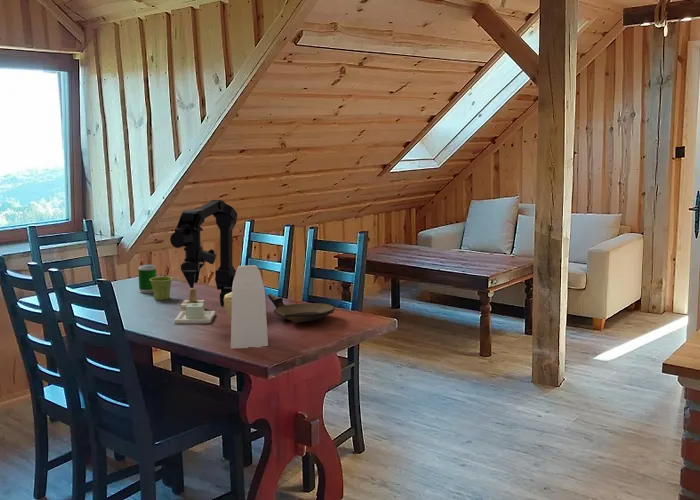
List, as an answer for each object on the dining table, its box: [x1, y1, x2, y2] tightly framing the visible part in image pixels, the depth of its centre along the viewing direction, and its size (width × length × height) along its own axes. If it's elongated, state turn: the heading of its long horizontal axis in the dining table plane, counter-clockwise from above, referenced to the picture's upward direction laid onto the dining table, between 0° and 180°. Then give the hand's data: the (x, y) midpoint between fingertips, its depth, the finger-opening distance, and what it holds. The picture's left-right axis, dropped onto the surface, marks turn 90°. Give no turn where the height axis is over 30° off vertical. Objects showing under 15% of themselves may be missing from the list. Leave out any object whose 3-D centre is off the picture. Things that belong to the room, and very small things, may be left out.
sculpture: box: [223, 292, 232, 318], centre depth 263 cm, size 12×12×11 cm
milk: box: [230, 264, 269, 350], centre depth 228 cm, size 12×12×26 cm
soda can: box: [138, 263, 157, 294], centre depth 307 cm, size 8×8×12 cm
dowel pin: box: [188, 287, 197, 303], centre depth 272 cm, size 3×3×9 cm
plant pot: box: [150, 276, 173, 301], centre depth 294 cm, size 9×9×9 cm
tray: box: [173, 310, 216, 325], centre depth 260 cm, size 13×13×2 cm
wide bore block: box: [180, 299, 206, 312], centre depth 273 cm, size 8×8×4 cm
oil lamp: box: [267, 293, 336, 323], centre depth 261 cm, size 22×30×8 cm
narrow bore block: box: [185, 303, 205, 319], centre depth 260 cm, size 6×6×5 cm
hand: (194, 285), depth 258 cm, fingers open, 9 cm apart
